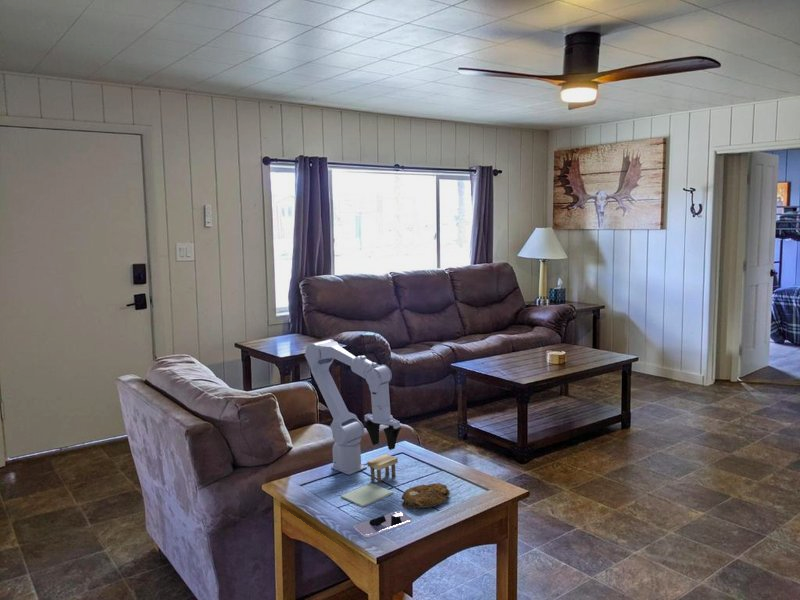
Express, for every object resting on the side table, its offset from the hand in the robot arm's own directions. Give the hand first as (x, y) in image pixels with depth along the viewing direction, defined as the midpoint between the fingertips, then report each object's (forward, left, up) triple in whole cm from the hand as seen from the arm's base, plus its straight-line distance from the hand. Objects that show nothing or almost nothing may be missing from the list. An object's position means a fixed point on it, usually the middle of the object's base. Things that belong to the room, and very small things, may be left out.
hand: (383, 446), depth 195 cm
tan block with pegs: (-1, 0, -10) cm, 10 cm away
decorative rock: (+21, -3, -11) cm, 24 cm away
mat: (+5, -12, -10) cm, 17 cm away
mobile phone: (+22, -21, -11) cm, 33 cm away
